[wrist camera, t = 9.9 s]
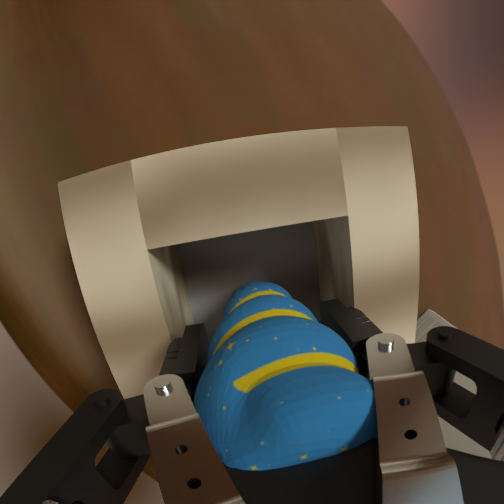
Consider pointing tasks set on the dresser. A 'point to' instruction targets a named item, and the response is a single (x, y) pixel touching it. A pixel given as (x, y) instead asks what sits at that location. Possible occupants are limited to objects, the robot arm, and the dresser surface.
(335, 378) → the ornament
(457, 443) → the skincare box
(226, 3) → the dresser surface
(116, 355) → the socket block
